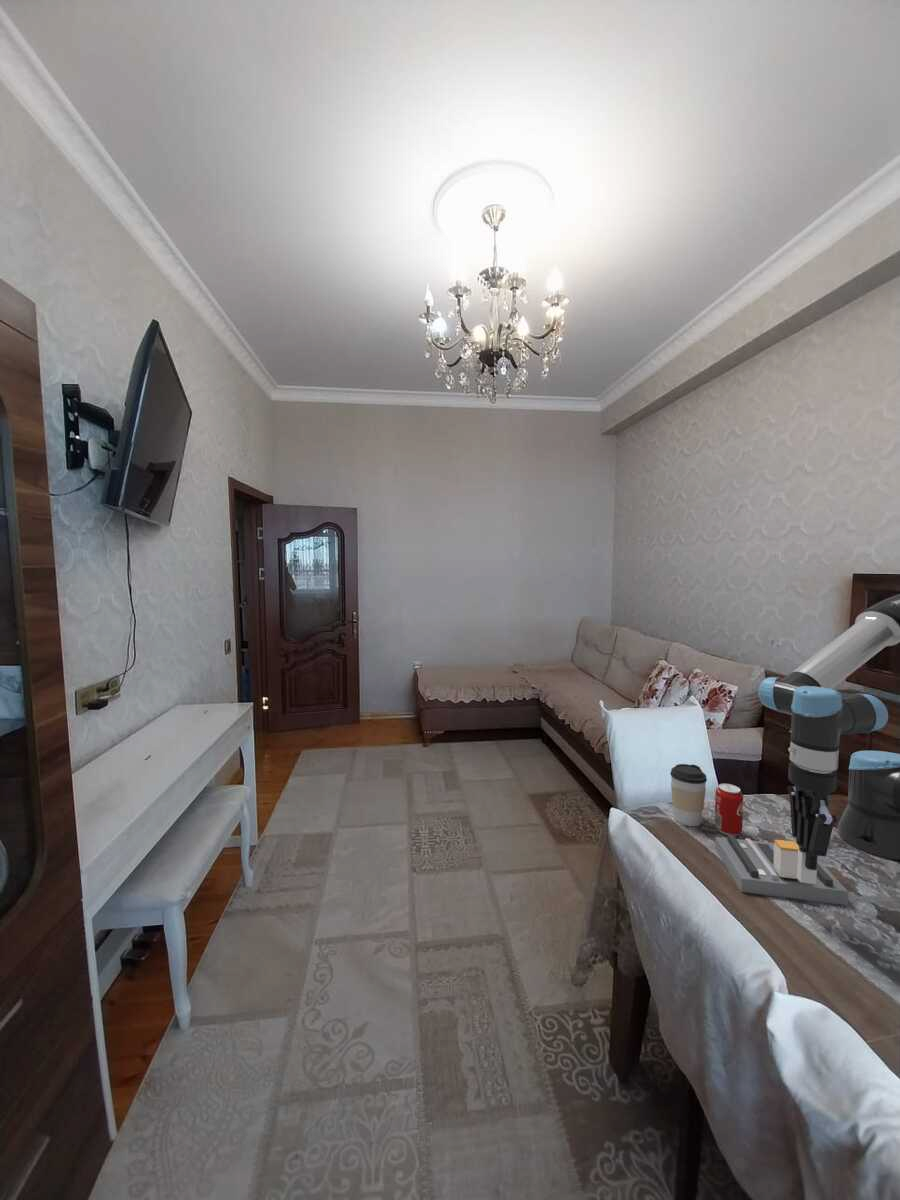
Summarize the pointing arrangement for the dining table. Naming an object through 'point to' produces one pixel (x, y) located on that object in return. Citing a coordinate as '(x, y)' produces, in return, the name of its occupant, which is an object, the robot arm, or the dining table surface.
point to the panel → (775, 875)
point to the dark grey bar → (823, 876)
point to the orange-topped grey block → (785, 858)
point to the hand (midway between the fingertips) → (806, 880)
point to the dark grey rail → (743, 856)
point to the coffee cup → (688, 793)
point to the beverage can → (728, 809)
